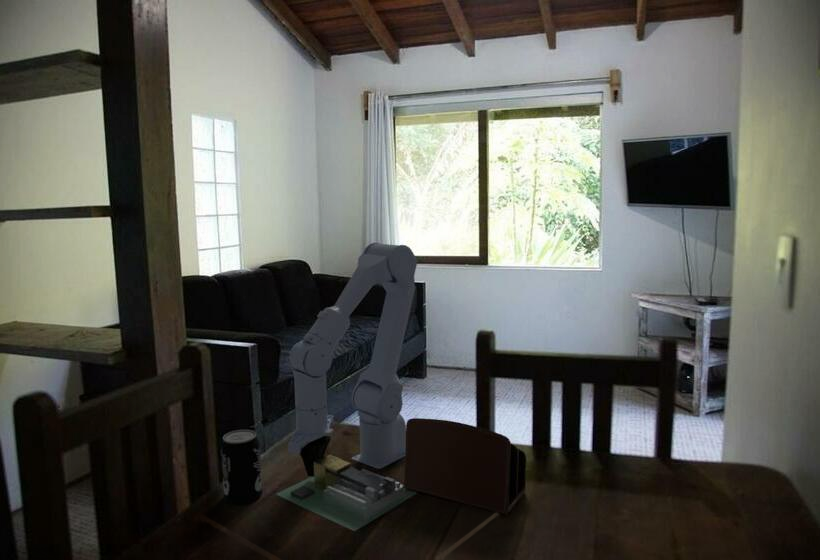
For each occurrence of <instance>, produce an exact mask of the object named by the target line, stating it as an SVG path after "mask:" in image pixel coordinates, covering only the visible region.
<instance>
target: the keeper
mask: <svg viewBox="0 0 820 560" xmlns="http://www.w3.org/2000/svg"><path fill="white" fill-rule="evenodd" d="M350 466H351V467H352V462H348V461H347V460H343V459H342V458H340V457H339V456H338V457H337V456H334V455H332V454H329V455H326V456H324V458H321V459H319V460H317V461H315V462H314V480H315V488H316V489H319V490H321V491H324V490H326V489H327V487H329V486H333V485H334V483H339V482H341V481H342V479H341V478H339V477H337V476H335V475H332V474H330V473H328V470H331V471H333V472H336V473H338V472H340V471H342V470H344V469H346V468H348V467H350Z"/></svg>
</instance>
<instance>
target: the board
mask: <svg viewBox="0 0 820 560" xmlns="http://www.w3.org/2000/svg"><path fill="white" fill-rule="evenodd" d="M350 467H352V468H354V469H356V470H358V469H357V467H354V466H352V465H351V466H350ZM343 480H344V479H342V481H343ZM417 494H418V492H416V491H412V490H408V489H405V488H404V498H405V499H403V500H401V501H400V502H398V503H396V504H395V505H393V506H391V507H390V508H388V509H386V510H385V511H383V512H381V513H380V514H378V515H377V516H375V517H373V518H372V519H370V520H368V521H367V522H363V521H361V520H359V519H357V518H354V517H352V516H350V515H348V514H345V513H343V512H341V511H339V510H337V509H334V508H332V507H330V506H328V505H325V504H324V501H323V491H321V490H319V489H316V488H315V480H314V477H311V476H309V477H308V478H306V479H304V480H301V481H300V482H298V483H296V484H294V485H292V486H289V487H288V488H285V489H284V490H281V491H279V492H277V493H275V496H278V497H280V498H282V499H285V500H286V501H288V502H291V503H292V504H295V505H297V506H299V507H302V508H304V509H305V510H308V511H309V512H312V513H314V514H317V515H318V516H320V517H322V518H324V519H327V520H328V521H331V522H333V523H335V524H337V525H340V526H342V527H344V528H346V529H348V530H350V531H353V532H356V531H358V530H359V529H361V528H363V527H364V526H366V525H367V524H370V522H372V521H374V520H376V519H378V518H379V517H380V516H383V515H384V514H385V513H387V512H389V511H390V510H392V509H394V508H396V507H398V506H399V505H401V504H402V503H404V502H406V501H407V500H408V499H411V498H412V497H414V496H415V495H417Z"/></svg>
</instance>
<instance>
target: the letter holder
mask: <svg viewBox="0 0 820 560" xmlns="http://www.w3.org/2000/svg"><path fill="white" fill-rule="evenodd" d="M405 424H406V449H405V454H404V455H405V456H404V459H405V461H404V479H403V481H404V482H403V486H404V488H405V489H408V490H411V491H414V492H416V493H421V494H425V495H427V496H428V495H429V496H432V497H436V498H440V499H444V500H448V501H451V502H455V503H459V504H463V505H467V506H471V507H474V508H479V509H482V510H486V511H488V512H489V511H490V512H493V513H494V512H495V513H497V514H502V515H505V516H507V515H508V514H509V513H510V512H511V510H512V509H513V508H514V506H515V505H516V504H517V502H519V500H521V498H522V496H524V494H525V493H526V488H527V487H526V486H527V482H526V481H527V475H526V474H527V455H526V453H525V451H523V450H522V449H520V448H518V447H517V446H516V445H515V444H513V443H511V440H510V439H509V437H507V436H505V435H503V434H502V433H498V432H495V431H493V430H489V429H486V428H482V427H479V426H475V425H472V424H471V425H470V424H468V423H463V422H460V421H459V422H457V421H453V420H447V419H446V420H445V419H436V418H435V419H434V418H419V417H417V418H416V417H415V418H414V417H412V418H409V419H407V421H406V422H405Z"/></svg>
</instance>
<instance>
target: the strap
mask: <svg viewBox="0 0 820 560" xmlns="http://www.w3.org/2000/svg"><path fill="white" fill-rule="evenodd" d="M352 467H353V466H351V467H348V468H346V469H344V470H342V471H340V472H338V473H336V472H333V471H331V470H328V473H330V474H332V475H335V476H337V477H339V478H341V479H344V480H346V481H348V482H351V483H353V484H355V485H358V486H360V487H362V488H364V489H365V488H367V487H371V488H374V489H376V490H377V493H378V492H379V491H381V490H383V489H385V488H387V487H388V483H387V482H386V481H383V480H381V479H378V478H376V477H373V476H371V475H369V474H366V473H364V472H361V470H359V469H357V468H356V469H357V470H356V469H354V468H355V467H354V468H352Z"/></svg>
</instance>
